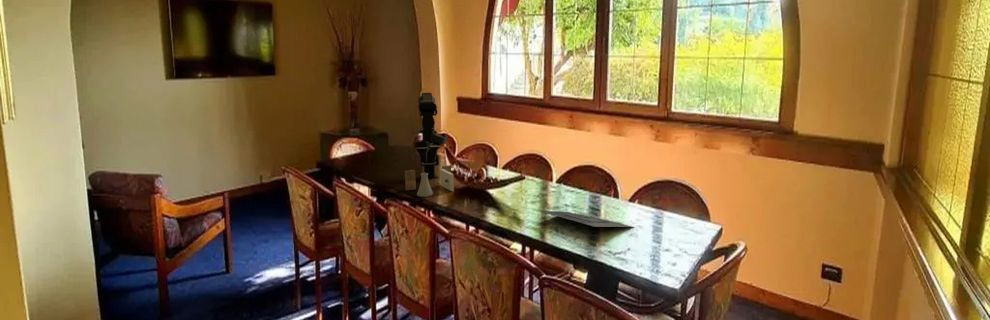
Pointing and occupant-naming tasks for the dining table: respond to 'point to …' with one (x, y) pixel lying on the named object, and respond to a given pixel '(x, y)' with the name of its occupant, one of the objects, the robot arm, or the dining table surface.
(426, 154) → the robot arm
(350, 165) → the dining table surface
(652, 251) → the dining table surface
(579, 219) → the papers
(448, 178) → the door
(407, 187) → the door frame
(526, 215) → the dining table surface
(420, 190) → the flask
